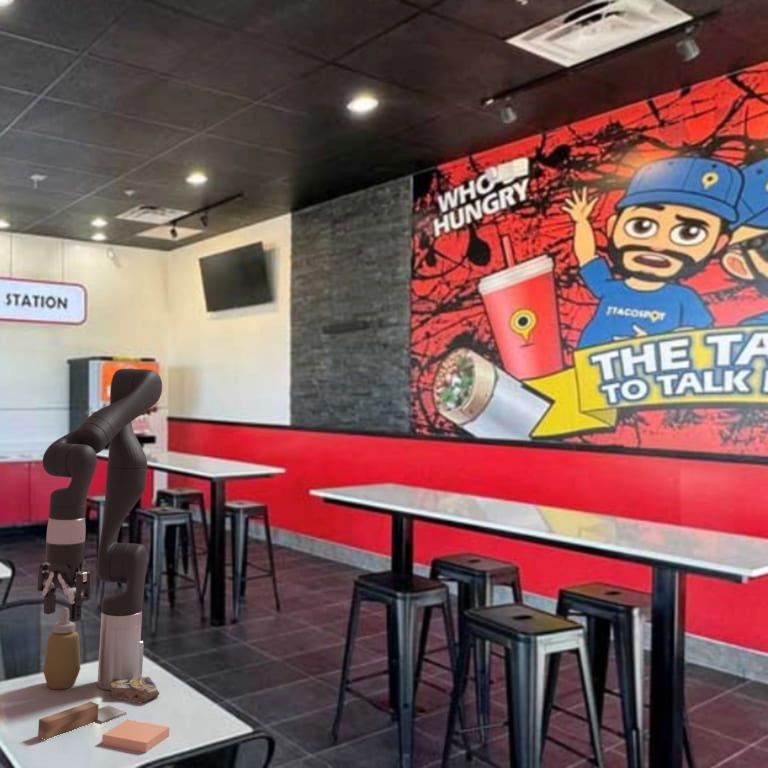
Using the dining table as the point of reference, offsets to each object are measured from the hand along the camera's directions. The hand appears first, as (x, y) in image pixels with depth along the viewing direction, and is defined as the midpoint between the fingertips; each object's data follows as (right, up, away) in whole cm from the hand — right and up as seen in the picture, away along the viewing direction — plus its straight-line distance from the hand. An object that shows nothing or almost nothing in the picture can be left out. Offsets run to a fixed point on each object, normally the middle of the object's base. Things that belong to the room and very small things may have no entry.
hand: (61, 617), depth 161 cm
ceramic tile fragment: (+10, -23, +17) cm, 31 cm away
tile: (+13, -22, -5) cm, 26 cm away
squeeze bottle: (-9, -22, +20) cm, 31 cm away
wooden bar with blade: (+4, -22, -1) cm, 23 cm away
